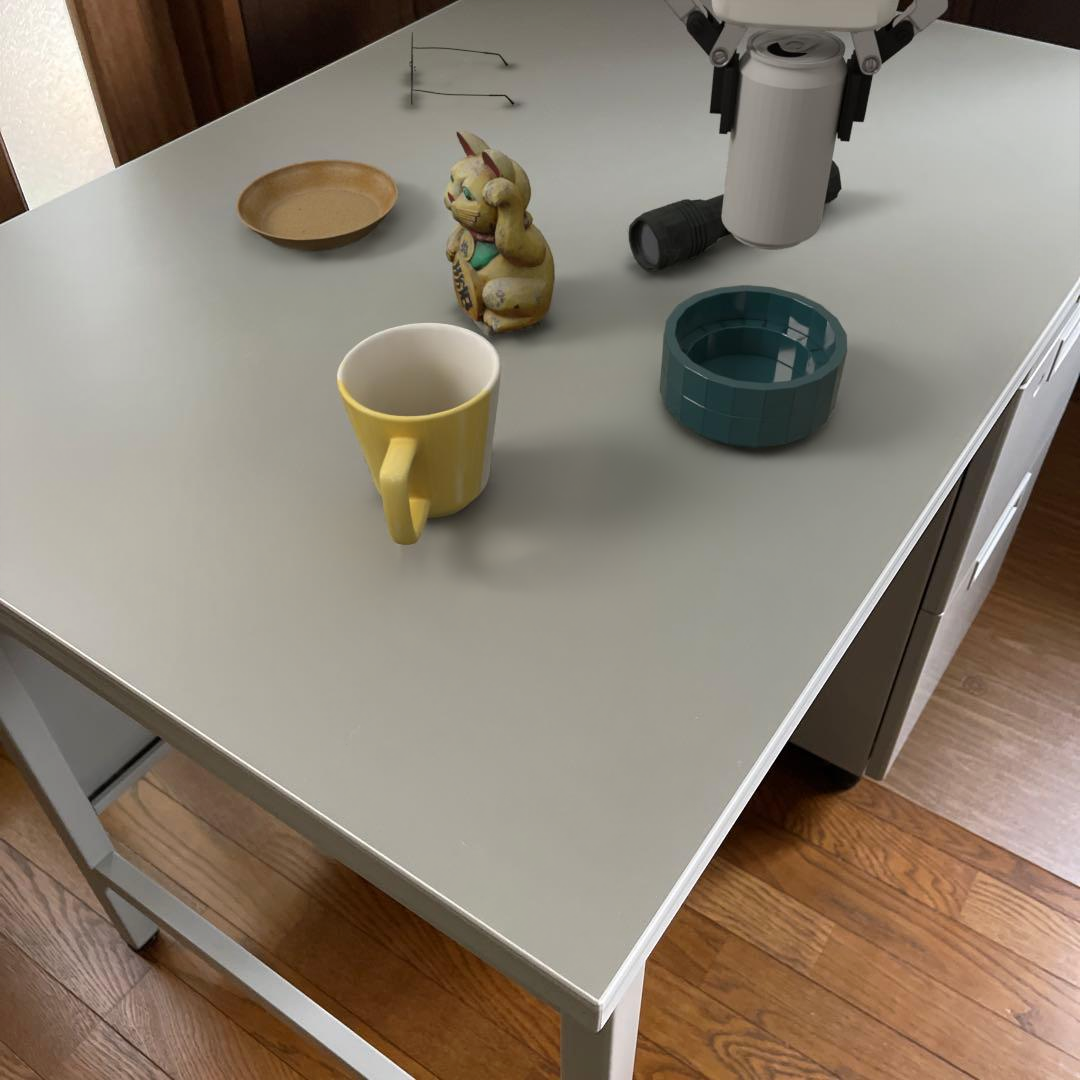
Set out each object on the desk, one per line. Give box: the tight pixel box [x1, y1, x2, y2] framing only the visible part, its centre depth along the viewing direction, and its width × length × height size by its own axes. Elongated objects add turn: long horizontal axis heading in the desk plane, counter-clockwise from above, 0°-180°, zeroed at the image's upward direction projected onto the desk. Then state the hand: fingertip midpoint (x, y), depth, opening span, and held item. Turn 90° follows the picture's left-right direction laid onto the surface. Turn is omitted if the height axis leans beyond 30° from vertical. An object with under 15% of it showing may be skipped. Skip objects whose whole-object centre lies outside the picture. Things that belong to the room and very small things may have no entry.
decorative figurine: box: [443, 130, 556, 338], centre depth 86 cm, size 10×8×15 cm
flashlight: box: [627, 159, 842, 272], centre depth 98 cm, size 5×21×5 cm, turn 122°
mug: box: [336, 322, 502, 546], centre depth 71 cm, size 14×10×10 cm
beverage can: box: [722, 28, 848, 251], centre depth 68 cm, size 6×6×12 cm
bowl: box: [659, 284, 848, 449], centre depth 81 cm, size 13×13×6 cm
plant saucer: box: [235, 158, 399, 252], centre depth 102 cm, size 15×15×3 cm
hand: (784, 125), depth 67 cm, fingers closed on beverage can, 6 cm apart
